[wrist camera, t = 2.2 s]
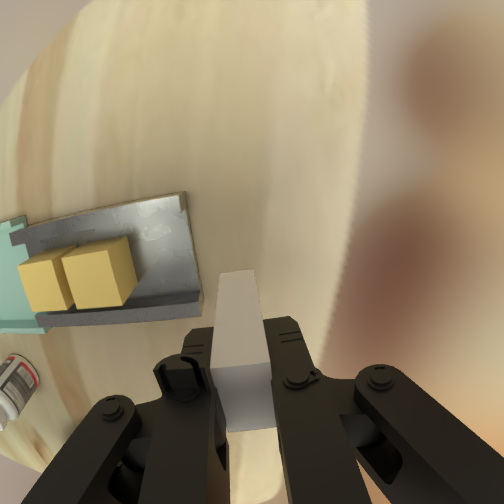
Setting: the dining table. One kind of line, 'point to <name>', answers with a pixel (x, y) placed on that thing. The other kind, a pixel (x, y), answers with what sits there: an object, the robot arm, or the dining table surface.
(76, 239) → the slot rail
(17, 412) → the pill bottle
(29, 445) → the dining table surface
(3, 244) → the tray
